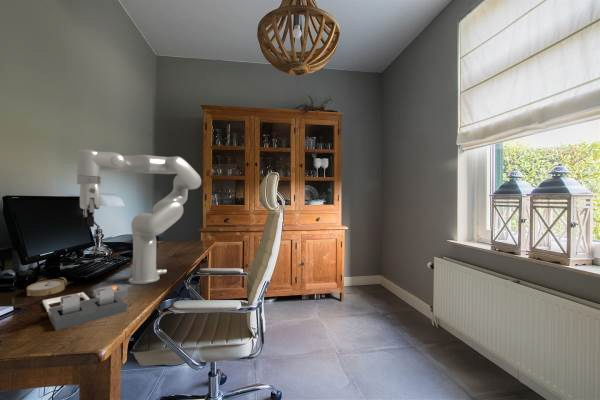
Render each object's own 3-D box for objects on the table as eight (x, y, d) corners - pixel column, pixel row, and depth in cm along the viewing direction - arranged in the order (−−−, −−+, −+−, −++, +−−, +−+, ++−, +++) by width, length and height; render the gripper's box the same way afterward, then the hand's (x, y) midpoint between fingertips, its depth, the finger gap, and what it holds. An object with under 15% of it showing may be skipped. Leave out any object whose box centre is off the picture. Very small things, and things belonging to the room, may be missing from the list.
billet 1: (76, 314, 89) (76, 293, 89) (79, 318, 86) (79, 296, 86) (59, 318, 86) (60, 296, 85) (62, 322, 83) (62, 299, 83)
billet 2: (110, 306, 96) (110, 286, 96) (113, 309, 93) (113, 288, 93) (95, 309, 93) (96, 289, 93) (99, 313, 90) (99, 291, 90)
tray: (83, 295, 106) (83, 292, 106) (90, 303, 99) (90, 299, 99) (42, 304, 98) (42, 300, 98) (47, 313, 90) (47, 309, 90)
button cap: (115, 290, 108) (115, 284, 108) (118, 293, 105) (118, 286, 105) (103, 293, 105) (103, 287, 105) (106, 295, 102) (106, 289, 102)
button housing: (120, 291, 111) (120, 284, 111) (127, 297, 106) (127, 289, 106) (93, 297, 105) (93, 290, 105) (99, 304, 99) (99, 295, 99)
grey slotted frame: (113, 302, 101) (114, 294, 101) (126, 312, 92) (126, 304, 92) (48, 317, 87) (48, 308, 87) (55, 332, 78) (55, 321, 78)
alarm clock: (20, 292, 102) (38, 275, 115) (21, 304, 103) (39, 285, 116) (58, 288, 107) (71, 272, 120) (58, 300, 107) (72, 282, 121)
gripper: (105, 181, 106) (105, 227, 106) (95, 182, 116) (95, 224, 116) (81, 180, 101) (80, 229, 101) (73, 181, 110) (72, 226, 110)
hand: (88, 226), depth 108 cm, fingers closed
